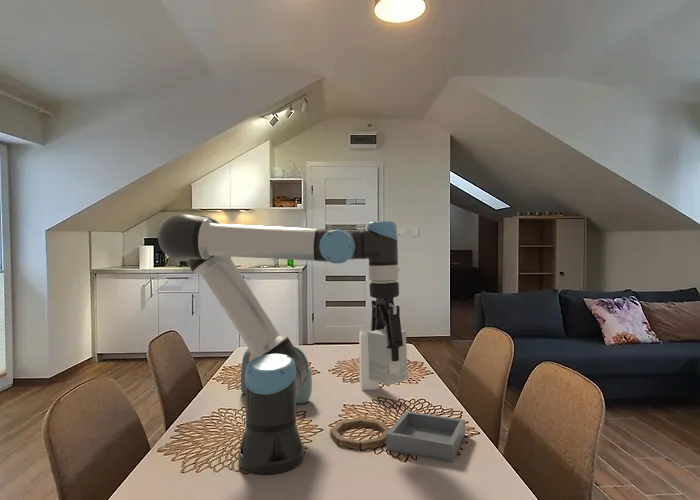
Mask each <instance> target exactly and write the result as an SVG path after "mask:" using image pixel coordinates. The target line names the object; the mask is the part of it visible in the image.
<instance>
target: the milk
mask: <svg viewBox="0 0 700 500" xmlns="http://www.w3.org/2000/svg"><path fill="white" fill-rule="evenodd" d="M370 331H371V323H361V324H360V325H359V331H358V333H359V334H358V336H359V338H358V341H359V344H358V345H359V347H358V349H359V353H358V355H359V357H358V358H359V386H360V389H361V391H367V390H368V391H372V390H373V391H374V390H379V387H380V386H379V385H380V384H379V382H376V381H373V380H370V379H369V357H368V332H370Z"/></svg>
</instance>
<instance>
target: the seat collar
mask: <svg viewBox="0 0 700 500" xmlns="http://www.w3.org/2000/svg"><path fill="white" fill-rule="evenodd" d="M359 426H360V427H367V428H371V429H372V428H373V429H377V430H378V431H380V432H381V435H380V436H379V437H374V438H368V439H363V440H358V439H354V438H347V437H343V436H342V435H341V432H342V431H343V430H344V429H349V428H355V427H359ZM390 429H391V428H390V427H389V426H387V424H385V423H384V422H383V421H381V420H375V419H369V418H364V417H362V418H360V417H358V418H352V419H347V420H341V421H338V422H337V423H336V424H335V425H333V427H331V428H330V430H329V436H330V438H331V439H332V440H333V441H334V443H335V444H336V445H337V446H339V447H344V448H350V449H355V450H366V449H372V448H377V447H383V446H384V445H385V444H386V433H387V432H388V431H389V430H390ZM385 446H386V445H385Z"/></svg>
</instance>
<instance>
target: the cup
mask: <svg viewBox="0 0 700 500" xmlns="http://www.w3.org/2000/svg"><path fill="white" fill-rule="evenodd" d="M312 388H313V371H312V368H310V367H308V375H307V379H306V381H305V383H304V384H303V386H302V387H301V388H300V390H299V391H298V393H297V395H296V405H297V404H298V405H301V404H302V405H303V404H306V403H307V402H308V401H310V398H311V396H312Z"/></svg>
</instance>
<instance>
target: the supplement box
mask: <svg viewBox="0 0 700 500" xmlns="http://www.w3.org/2000/svg"><path fill="white" fill-rule="evenodd" d="M401 331H402V340H403V346H401V347H399V363H400V373H397V374H389V370H388V349H387V346H389V342H388V335H387V332H386V327H385V329H379V330H375V331H370V332H368V357H369V379H370V380H373V381H376V382H379V383H380V384H382V385H386V386H390V385H393V384H397V383H400V382H403V381H407V380H408V355H407V354H408V353H407V352H408V350H407V331H406V330H402V329H401Z"/></svg>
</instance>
